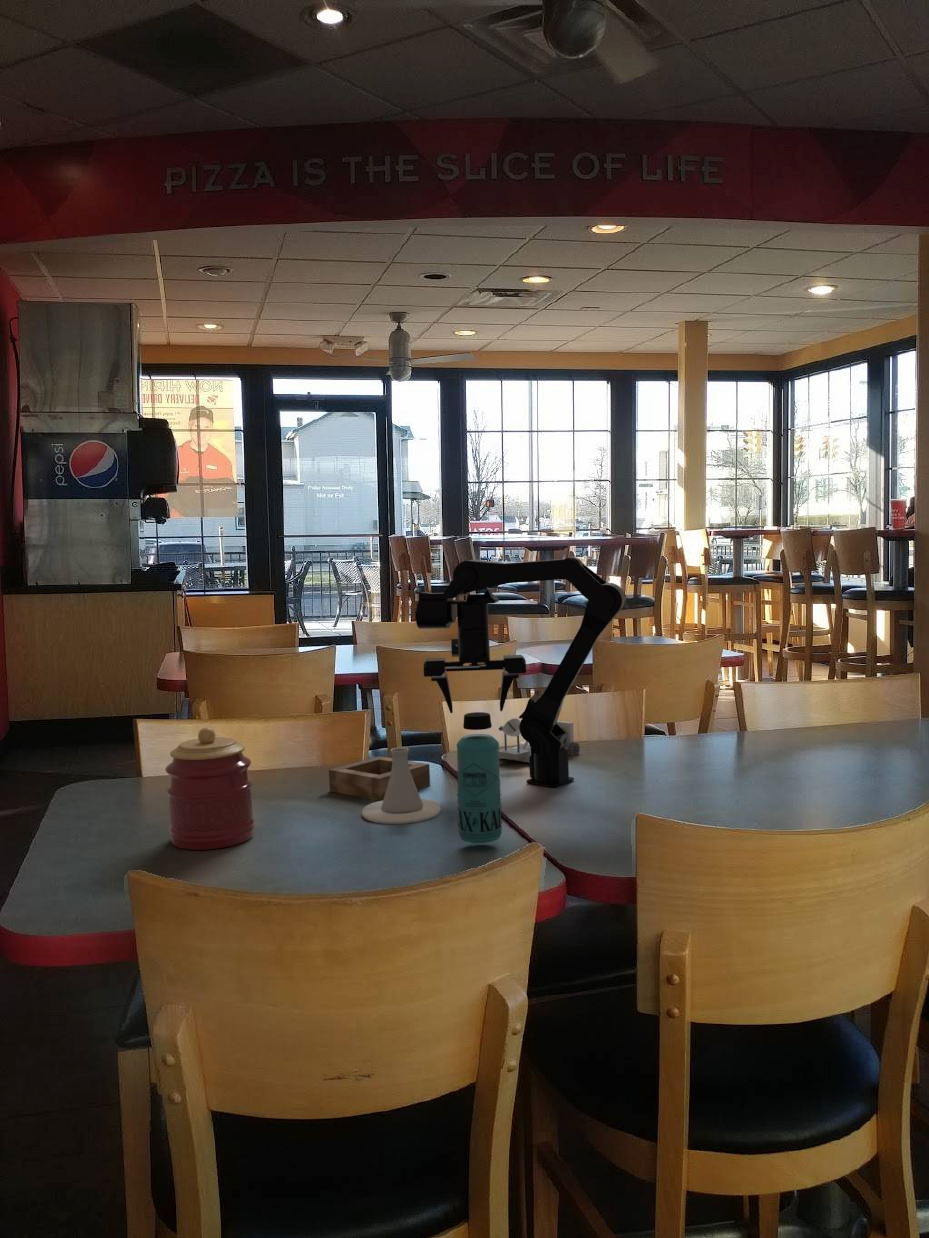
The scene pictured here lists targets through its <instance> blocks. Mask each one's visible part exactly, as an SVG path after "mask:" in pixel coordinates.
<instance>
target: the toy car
mask: <svg viewBox="0 0 929 1238" xmlns="http://www.w3.org/2000/svg"><path fill="white" fill-rule="evenodd" d="M520 722H521V720H520V718H511V719H509V720H507V721H506V722H505V723H504V724H501V725H499V727H498V730H499V731H500V732H503V735H504V737H503V738H504V747H503V748H499V760H500V759H505V760H511V761H516V762H517V761H518V762H523V763H529V756H530V755H531V747H530V745H529V742H527V741H526V740H524V741H520V735H521V733H520V730H519V725H520ZM557 724H558V725H559V726H560V727H561V728H562V729H563V730H564V731H565V732H566V733H567V734H568V736H567V739H566V742H565V744H564V745H563V746H562V747H564V748H565V749H568V756H574V757H575V756H577V755H579V754H580V751H581V750H580V745H579V743H578V742H576V741H575V740H574V738H575V737H574V735H575V734H574V722H571V721H563V720H562V721H561V720H557ZM507 736H509V737H515V738H516V741H517V743H516V744H517V746H513V747H508V746H507V743H508V742H507Z"/></svg>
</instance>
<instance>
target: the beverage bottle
mask: <svg viewBox="0 0 929 1238" xmlns="http://www.w3.org/2000/svg"><path fill="white" fill-rule="evenodd" d="M462 727H463V729H464V730H470V731H480V730H488V729H491V728H492V720H491V714H490V713H489V712H482V711H481V712H480V711H478V712H477V711H476V712H474V711H473V712H469V713H468V712H467V713H465V714H464V716H463V724H462ZM499 749H500V743H499V741H498V740H497V739H496V738H495V737H493V735H491V734H489V733H471V734H466V735H463V736H462V737H461V738H460V739H459V740H458V742H457V743H456V750H457V751H456V754H457V755H456V756H457V758H456V759H457V775H456V782H457V789H456V796H457V802H456V803H457V805H458V806H457V807H456V808H457V811H458V826H457V829H458V835H459V837H460V838H459V839H460V840H461V841H462V842H466V843H471V844H483V843H484V844H485V843H492V842H494V841H497V840H499V839H500V838H501V835H502V833H503V832H502V831H503V828H502V827H503V821H502V818H503V816H502V815H503V814H502V813H503V812H502V804H501V803H502V798H501V795H502V792H501V785H502V783H501V779H500V778H501V777H500V775H501V774H500V759H499Z"/></svg>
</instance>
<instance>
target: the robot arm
mask: <svg viewBox="0 0 929 1238" xmlns="http://www.w3.org/2000/svg"><path fill="white" fill-rule="evenodd" d="M557 580H567V582H569V583H570V584H571V585H572V586H573V587H574V588H575V589H576V590H577V591H578V592H579V594H581V596H583V597H584V598H585V599H587V604H586V607H585V610H584V614H583V617H582V621H581V623H580V627H579V628H578V631H577V633H576V635H575V636H574V638H573V640H572V642H571V643H570V645H569V647H568V649H567V651H566V652H565V653H564V654H565V655H564V656H563V658H562V660H561V661H560V663H559V665H558V667H557V669H556V670H555V672H554V674H553V675H552V678H551V680H550V681H549V683H548V685H547V687H546V689H545V690H544V692H543V693H542V694H541V696H539V695H538V694H537V693H534V694H533V695H531V697H529V699H528V701H527V703H526V706H525V708H524V711H523V712H522V713H521V714H520V715H519V716H518V719H519V720H520V719H521V720H520V725H519V730H520V736H521V737H522V739H524V741H527V742H529V745H530V747H531V755H530V756H529V762H528V765H529V777H530V778H528V779H526V782H525V783H526V784H533V785H537V786H544V787H549V788H556V787H559V786H562V785H564V784H567V783H570V782H573V781H574V780H575V777H574V776H573V777H572V776H570V774H569V773H570V771H569V769H570V768H569V753H568V749H565V748H564V747H562V746H563V745H564V744H565V742H566V739H567V736H568V734H567V733H566V732H565V731H564V730H563V729H562V728H561V727H560V726H559V725H558V724H557V721H559V717H560V715H561V711H562V707H563V703H564V701H565V698H566V696H567V695H568V693H569V691H570V689H571V687H572V685H573V684H574V682H575V680H576V678H577V676H578V674H579V673H580V671H581V669H582V667H583V666H584V664H585V662H586V661H587V659H588V657H589V655H590V653H591V651H592V649H593V648H594V646H595V644H596V642H597V641H598V638H599V637H600V636H601V634H602V633H603V632H604V630H605V629H606V628H607V627H608V625H609V624H610V623H611V622H612V621H613V619H614V618H615V617H616V616H617V615H618V613H619V612H620V611H621V610H622V609H623V607H624V605H625V603H626V596H625V592H624V590H623V588H621V586H620V585H618V584H616V583H614V582H608V581H607V582H606V580H604V579H603V578H602V577H601V576H600V575H598V574H597V573H596V572H594V570H592V569H591V568H589V567H588V566H587V565H586V564H584V563H583V561H582V560H581V559H580V558H578V557H576V556H569V557H566V558H558V559H547V560H533V561H532V560H531V561H519V562H507V563H506V562H501V561H500V562H499V561H492V560H485V559H484V560H483V559H469V560H464V561H461V562H459V563H457V565H456V566H455V567H454V570H453V573H452V580H451V582H450V583H449V585H448V586H447V588H446V589H445V591H444V592H428V591H422V592H419V593H418V600H417V603H416V610H415V612H414V613H415V623H416V626H417V628H418V629H423V630H424V629H425V630H426V629H428V630H429V629H430V630H431V629H432V630H433V629H435V630H436V629H450V628H451V626H452V624H455V623H456V620H457V638H451V640H450V641H451V646H450V647H451V657H452V658H455V657H458V660H457V661H456V660H455V661H446V657H427V658H426V659H425V660H424V662H423V677H425V678H428V677H431V678H430V681H431V682H436V683H437V685H438V686H439V689H440V690H441V692H442V694H443V696H444V700H445V702H446V705H447V707H448V710H449V713H450V714H453V712H454V711H453V710H454V709H453V701H452V699H453V698H452V693H451V688H450V683H449V675H448V673H447V672H466V671H467V672H468V671H469V672H471V671H497V670H501V671H502V670H503V671H502V672H501V683H500V685H501V686H500V695H499V711H500V712H503V710H504V708H505V704H506V699H507V696H508V693H509V690H510V688H511V686H512V684H513V681H514V679H519V678H520V674H527V664H526V663H527V661H526V658H525V657H524V656H523V655H522V654H507V655H506V654H504V655H503V658H502V659H491V651H490V650H491V649H490V647H491V646H490V628H489V627H490V626H489V623H490V622H489V604H496V603H498V602H499V601H500V598H498V597H497V596H496V595H494V593H493V592H492V590H490V589H489V588H492V587H495V586H501V585H503V584H513V583H514V584H516V583H529V582H542V581H557ZM487 588H488V590H486V591H485V592H484V593H482V594H480V593H478V594H468V593H472V592H477V591H479V590H485V589H487ZM467 594H468V595H467ZM464 595H467V598H466V599H458V600H457V599H456V600H455V599H454V598H458V597H462V596H464ZM465 664H468V665H465Z"/></svg>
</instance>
